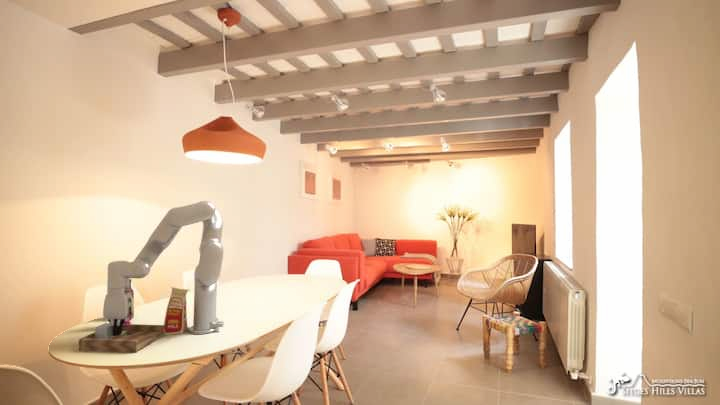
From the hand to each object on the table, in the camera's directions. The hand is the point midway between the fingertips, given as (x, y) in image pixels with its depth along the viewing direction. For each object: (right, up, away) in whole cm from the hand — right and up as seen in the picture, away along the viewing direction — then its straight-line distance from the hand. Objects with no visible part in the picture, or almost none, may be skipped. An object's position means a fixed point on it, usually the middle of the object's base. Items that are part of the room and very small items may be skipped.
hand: (117, 334), depth 142 cm
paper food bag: (+17, -4, +15) cm, 23 cm away
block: (-5, -1, 0) cm, 5 cm away
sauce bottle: (-17, -4, +30) cm, 35 cm away
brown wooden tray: (+3, -3, 0) cm, 5 cm away
